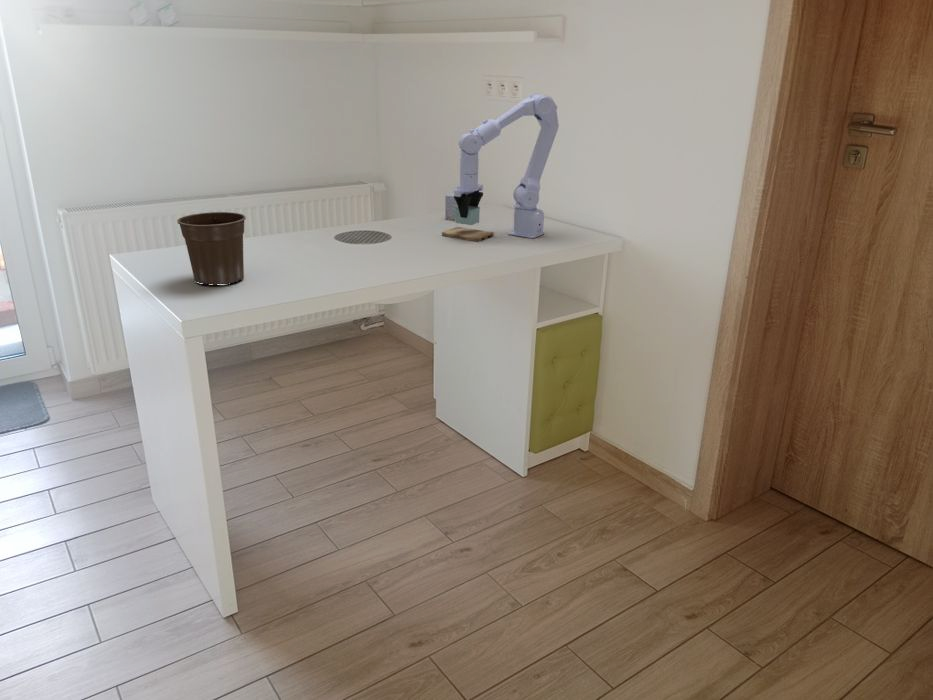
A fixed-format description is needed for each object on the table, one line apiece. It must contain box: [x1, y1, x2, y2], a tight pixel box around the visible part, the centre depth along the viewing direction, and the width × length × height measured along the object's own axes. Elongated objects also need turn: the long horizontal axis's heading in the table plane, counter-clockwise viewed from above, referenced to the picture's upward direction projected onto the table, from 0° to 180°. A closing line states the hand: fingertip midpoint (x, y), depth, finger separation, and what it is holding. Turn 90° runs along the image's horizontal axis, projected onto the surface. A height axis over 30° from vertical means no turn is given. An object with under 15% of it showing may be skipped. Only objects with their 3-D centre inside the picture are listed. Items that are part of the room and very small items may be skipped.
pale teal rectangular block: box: [454, 206, 481, 226], centre depth 230 cm, size 6×5×5 cm
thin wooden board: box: [441, 226, 495, 242], centre depth 233 cm, size 14×10×1 cm
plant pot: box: [177, 211, 246, 285], centre depth 180 cm, size 16×16×16 cm
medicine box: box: [444, 193, 458, 221], centre depth 254 cm, size 8×4×9 cm, turn 58°
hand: (468, 215), depth 230 cm, fingers closed on pale teal rectangular block, 5 cm apart
